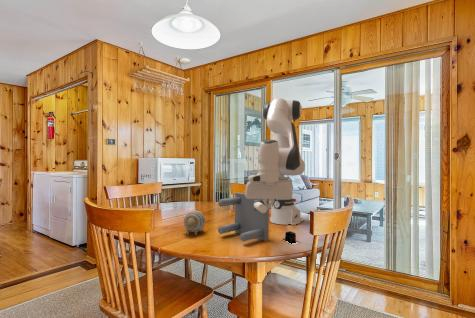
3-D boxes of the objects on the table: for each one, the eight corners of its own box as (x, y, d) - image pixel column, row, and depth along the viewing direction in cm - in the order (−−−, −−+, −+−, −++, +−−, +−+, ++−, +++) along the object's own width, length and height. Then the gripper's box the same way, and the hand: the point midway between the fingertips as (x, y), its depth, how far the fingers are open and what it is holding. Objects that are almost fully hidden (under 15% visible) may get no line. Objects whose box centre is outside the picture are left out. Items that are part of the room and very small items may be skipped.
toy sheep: (179, 237, 129) (179, 213, 129) (189, 227, 145) (189, 207, 145) (201, 238, 128) (201, 214, 128) (208, 228, 145) (208, 207, 144)
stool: (238, 230, 141) (238, 192, 141) (268, 239, 127) (269, 197, 127) (216, 236, 131) (217, 195, 131) (247, 246, 117) (247, 200, 116)
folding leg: (252, 209, 126) (253, 199, 126) (260, 209, 127) (260, 199, 126) (259, 214, 115) (259, 204, 115) (267, 214, 116) (267, 203, 116)
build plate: (276, 239, 129) (276, 229, 129) (288, 237, 133) (288, 228, 133) (292, 247, 118) (293, 237, 118) (305, 245, 121) (306, 235, 121)
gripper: (290, 176, 121) (289, 207, 121) (244, 176, 119) (244, 207, 119) (294, 177, 115) (294, 210, 115) (246, 177, 113) (246, 210, 113)
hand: (268, 209), depth 117 cm, fingers closed
